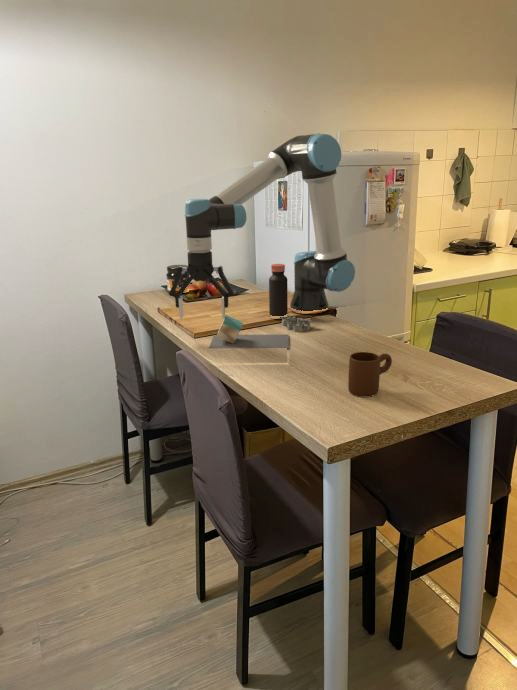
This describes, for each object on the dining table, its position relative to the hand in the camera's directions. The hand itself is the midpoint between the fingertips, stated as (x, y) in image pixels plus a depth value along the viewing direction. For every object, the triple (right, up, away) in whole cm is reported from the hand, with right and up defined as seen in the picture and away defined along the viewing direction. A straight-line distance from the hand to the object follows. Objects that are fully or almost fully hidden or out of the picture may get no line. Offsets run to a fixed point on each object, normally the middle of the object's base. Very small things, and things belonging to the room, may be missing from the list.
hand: (202, 317), depth 174 cm
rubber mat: (+15, -8, +2) cm, 17 cm away
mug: (+46, -20, -37) cm, 62 cm away
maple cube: (+7, -6, +2) cm, 10 cm away
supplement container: (-18, +15, +75) cm, 79 cm away
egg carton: (+31, -3, +17) cm, 36 cm away
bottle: (+25, +1, +30) cm, 39 cm away
